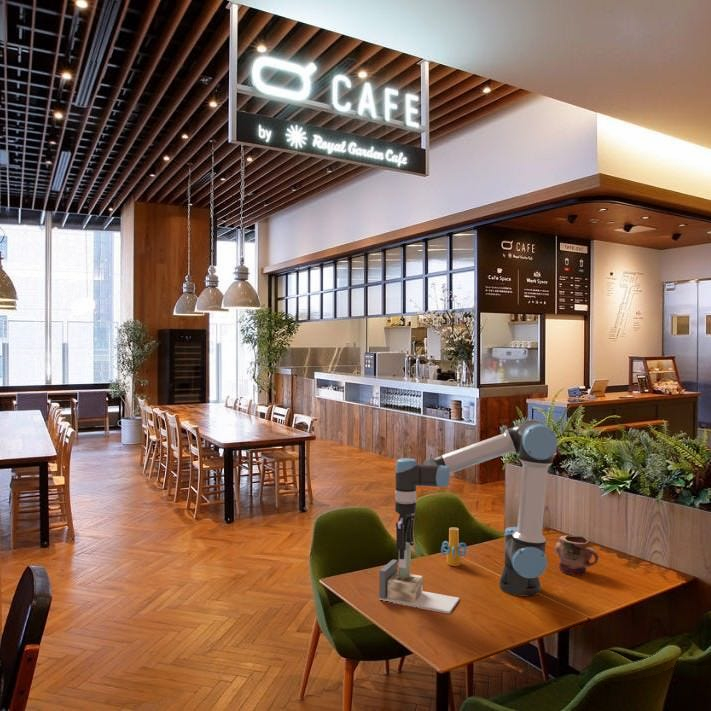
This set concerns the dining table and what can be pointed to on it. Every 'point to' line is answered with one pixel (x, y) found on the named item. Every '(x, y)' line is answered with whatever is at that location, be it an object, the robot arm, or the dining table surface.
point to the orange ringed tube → (453, 548)
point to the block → (405, 587)
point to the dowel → (406, 571)
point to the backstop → (423, 601)
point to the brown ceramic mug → (575, 554)
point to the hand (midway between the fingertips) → (404, 565)
